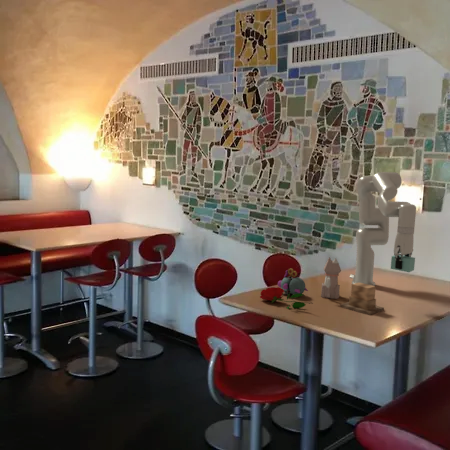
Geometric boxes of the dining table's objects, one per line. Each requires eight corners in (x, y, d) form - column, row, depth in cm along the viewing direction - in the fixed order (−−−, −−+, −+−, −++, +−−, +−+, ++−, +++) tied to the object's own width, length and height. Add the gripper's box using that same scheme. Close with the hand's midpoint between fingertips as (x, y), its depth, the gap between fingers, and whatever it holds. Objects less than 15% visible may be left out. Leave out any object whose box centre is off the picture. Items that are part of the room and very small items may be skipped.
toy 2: (340, 294, 285) (343, 256, 283) (335, 303, 268) (338, 262, 266) (323, 292, 288) (325, 254, 285) (317, 301, 271) (319, 261, 268)
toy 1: (273, 294, 283) (297, 299, 272) (274, 267, 281) (297, 272, 271) (287, 290, 291) (310, 295, 280) (288, 265, 289) (311, 269, 279)
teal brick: (390, 268, 264) (391, 256, 263) (395, 266, 268) (396, 254, 267) (409, 272, 258) (410, 259, 257) (413, 270, 263) (415, 257, 262)
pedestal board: (340, 306, 263) (340, 296, 262) (354, 302, 271) (355, 292, 270) (369, 314, 251) (370, 303, 251) (383, 310, 259) (384, 299, 259)
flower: (316, 287, 252) (263, 281, 272) (306, 300, 246) (252, 293, 266) (321, 303, 256) (268, 295, 275) (312, 316, 250) (258, 308, 269)
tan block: (350, 296, 262) (351, 284, 261) (358, 294, 266) (359, 282, 265) (367, 300, 255) (368, 288, 254) (374, 298, 259) (375, 286, 258)
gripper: (407, 227, 269) (404, 263, 272) (388, 231, 257) (385, 268, 260) (422, 229, 263) (418, 266, 266) (403, 233, 252) (400, 271, 255)
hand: (402, 267), depth 263 cm, fingers closed on teal brick, 6 cm apart
